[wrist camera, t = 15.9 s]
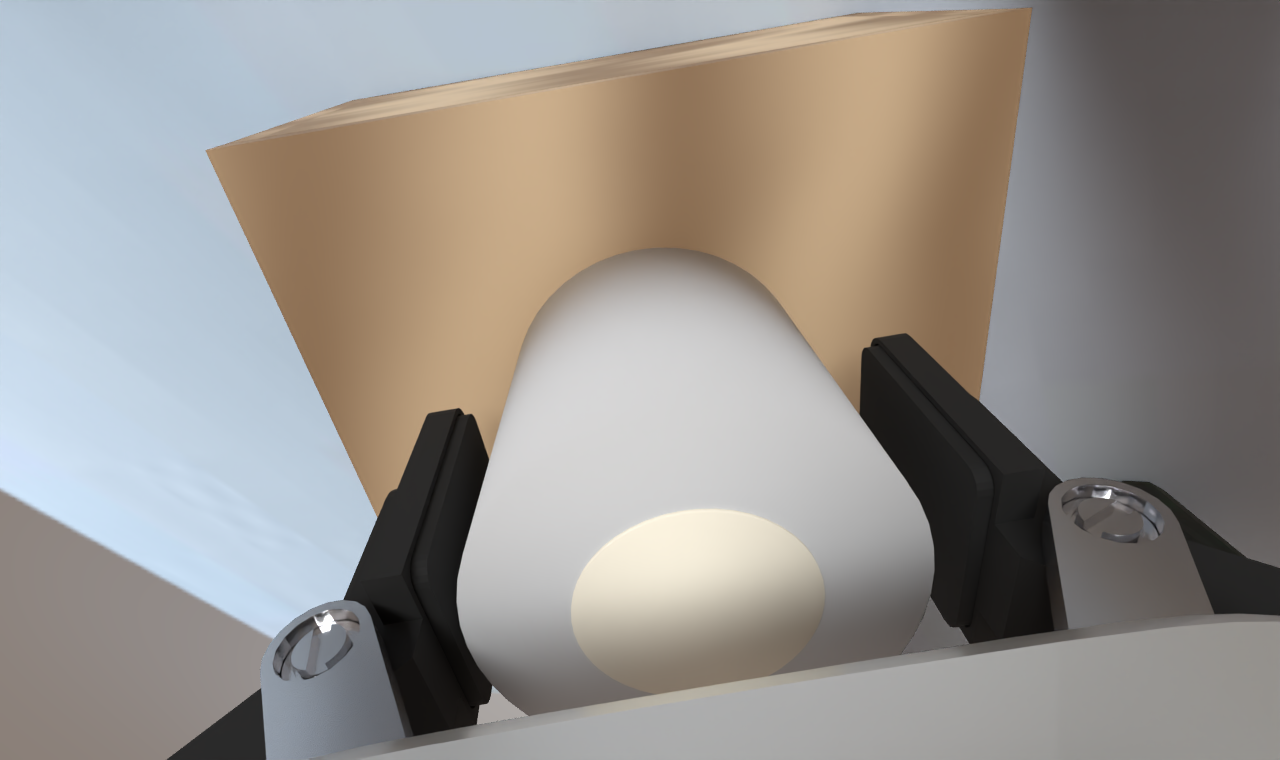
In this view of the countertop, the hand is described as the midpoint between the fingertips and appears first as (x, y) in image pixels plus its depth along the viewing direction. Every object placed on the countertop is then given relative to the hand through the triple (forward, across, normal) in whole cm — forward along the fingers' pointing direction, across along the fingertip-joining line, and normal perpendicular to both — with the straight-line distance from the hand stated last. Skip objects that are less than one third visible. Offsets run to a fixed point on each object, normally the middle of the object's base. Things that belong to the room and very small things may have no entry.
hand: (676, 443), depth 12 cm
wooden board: (+3, 0, 0) cm, 3 cm away
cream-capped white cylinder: (+2, 0, 0) cm, 2 cm away
